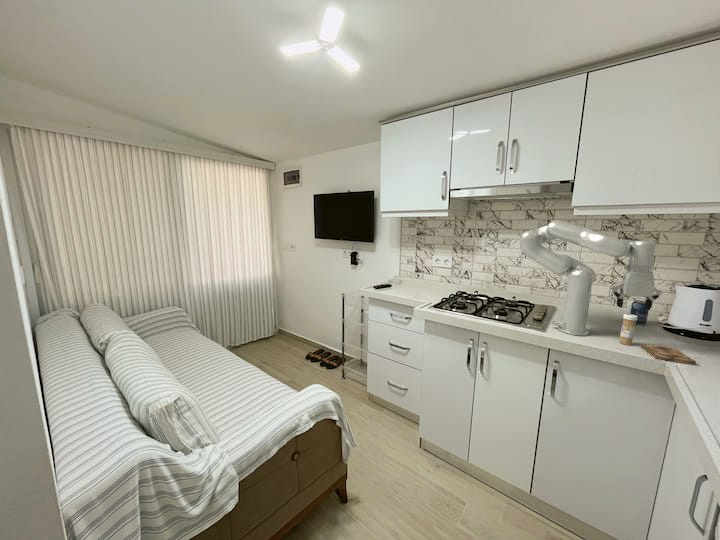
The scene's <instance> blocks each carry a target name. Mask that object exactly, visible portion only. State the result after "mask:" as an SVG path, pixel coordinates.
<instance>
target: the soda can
mask: <svg viewBox="0 0 720 540" xmlns="http://www.w3.org/2000/svg"><path fill="white" fill-rule="evenodd" d="M645 301H646V300H645ZM645 301H644V300H633V302H631V306H630V307H631V308H630V312H629V314H633V315H636V316H637V320H636V325H639V326H644V325H645V324H647V321H648V316H649V311H650V310H647V309H645V308H644V307H645Z"/></svg>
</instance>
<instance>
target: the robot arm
mask: <svg viewBox="0 0 720 540" xmlns="http://www.w3.org/2000/svg"><path fill="white" fill-rule="evenodd" d="M556 239H557V240H560V241H563V242H568V243H570V244H574V245H576V246H579V247H582V248H584V249H589V250H591V251H595V252H597V253H598V254H603V255H606V256H609V257H613V258H622V257H625V256H627V257H628V256H629V260H628V264H627V265H626V266H625V265H624V267H623V269H624V270H626V271H625V272H624V275H623V277H622V280H621V283H620V284H618V285H615V286H612V287H611V288H610V289H611V291H612V293H613V295H614V296H615V297H616V306H617V307H618V308H623V305H624V297H626V296H632V297H643V298H644V297H645V298H646V299H645V307H644V308H645V309H647V310H649V311H651V309H652V306H653V302H655V300H657V299H659V298H660V296H661V295H662V294H663V291H662V290H660V289H658V288H656V287H655V275H654V273H652V271H653V270H652V269H653V265H654V258H655V254H656V253H655V251H656V246H657V245H656V242H655V241H651V240H631V239H624V238H623V239H622V238H619V239H618V238H614V237H610V236H607V235H604V234H601V233H599V232H596V231H595V230H592V229H590V228H588V227H584V226H581V225H577V224H572V223H570V222H567V221H566V220H562V219H561V220H560V219H555V220H552V221H550V222H549V223H548V224H546V225H544V226H542V227H539V228H536V229H528V230H526V231H524V232H523V233H522V234H521V235H520V239H519V247H520V249H521V251H522V253H523V254H524V255H525V256H526V257H527V258H529V259H530V260H532V261H533V262H535V263H537V264H538V265H539V266H541V267H543V268H545V269H546V270H548V271H549V272H551V273H552V274H555V275H558V276H560V275H563V276H565V277H566V278H567V279H566V292H565V293H566V294H565V302H564V308H563V314H562V315H563V316H562V318H561V319H560V320H557V321H556V320H551V321H550V325H554V327H555V326H556V327H557V329H558V330H559V331H560V332H563V333H565V334H568V335H572V336H578V337H579V336H580V337H586V336H588V335H590V331H589V330H588V329H586V327H587V321H588V315H589V310H590V309H589V308H590V303H591V295H592V288H593V287H592V286H593V283H594V281H596V279H597V274H596V271H595V270H594V269H593V268H592V267H590V266H588V265H587V264H585V263H582V262H581V261H579V260H577V259H575V258H574V257H572V256H569V255H567V254H558V253H556V252H554V251H552V250H550V249H549V248H547V247H545V246H543V245H542V244H546V243H549V242H552V241H554V240H556ZM617 290H619V293H618V291H617ZM654 292H655V293H654Z"/></svg>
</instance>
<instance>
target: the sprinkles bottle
mask: <svg viewBox="0 0 720 540" xmlns="http://www.w3.org/2000/svg"><path fill="white" fill-rule="evenodd" d="M622 317H623V319H622V324H621V325H622V326H621V328H620V329H621V330H620V334H619V335H620V336H619V340H618V342H619V343H620V344H622V345H625V344H626V345H625V346H632V345H633V340H634V336H635V329H636V325H637V324H636V320H637V316H636V315H633V314H630V313H623V315H622Z"/></svg>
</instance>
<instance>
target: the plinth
mask: <svg viewBox="0 0 720 540" xmlns="http://www.w3.org/2000/svg"><path fill="white" fill-rule="evenodd" d="M639 346H640V347H641V348H642V349H644V350H645V351H646V352H647V353H646V352H645V351H644V350H643V351H644V352H645V353H646V354H648V353H649V354H650V355H651V356H650V355H649V354H648V355H649V356H650V357H652V356H653V357H654V358H655V359H660V360H659V361H662V360H665V362H669V361H670V363H678V364H684V365H692V366H696V364H697V362H696V360H694V359H693V358H691V357H689V356H688V355H687V354H685V353H684V352H682V351H681V350H679V349H677V348H675V347H669V346H662V345H661V346H660V345H655V344H654V345H653V344H640V345H639ZM640 347H639V348H640ZM641 348H640V349H641ZM642 349H641V350H642ZM653 357H652V358H653ZM654 358H653V359H654ZM655 359H654V360H655Z"/></svg>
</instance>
